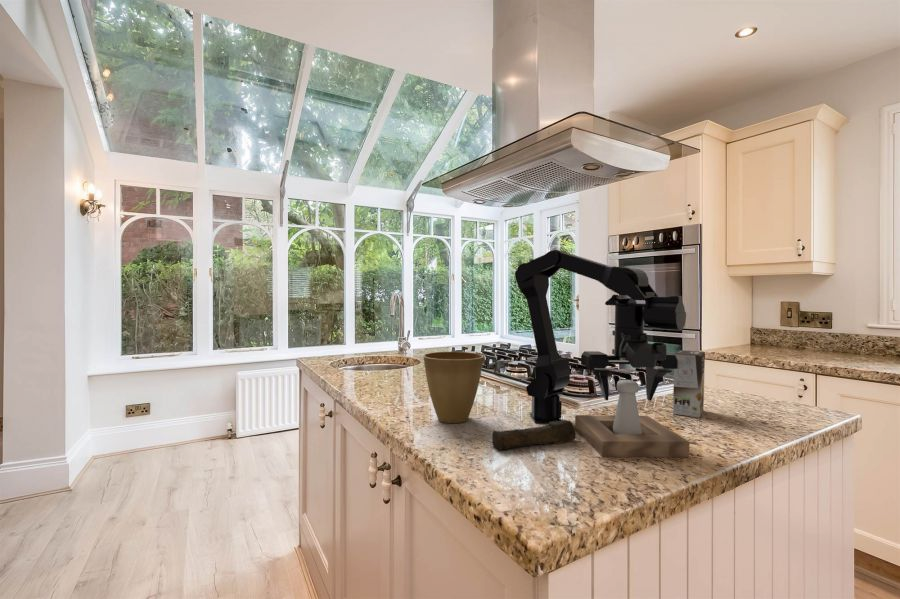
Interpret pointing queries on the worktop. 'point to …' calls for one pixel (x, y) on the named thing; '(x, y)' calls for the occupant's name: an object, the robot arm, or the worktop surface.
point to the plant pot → (453, 383)
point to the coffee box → (689, 383)
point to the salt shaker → (627, 409)
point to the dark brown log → (534, 435)
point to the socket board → (631, 438)
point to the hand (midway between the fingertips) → (627, 400)
